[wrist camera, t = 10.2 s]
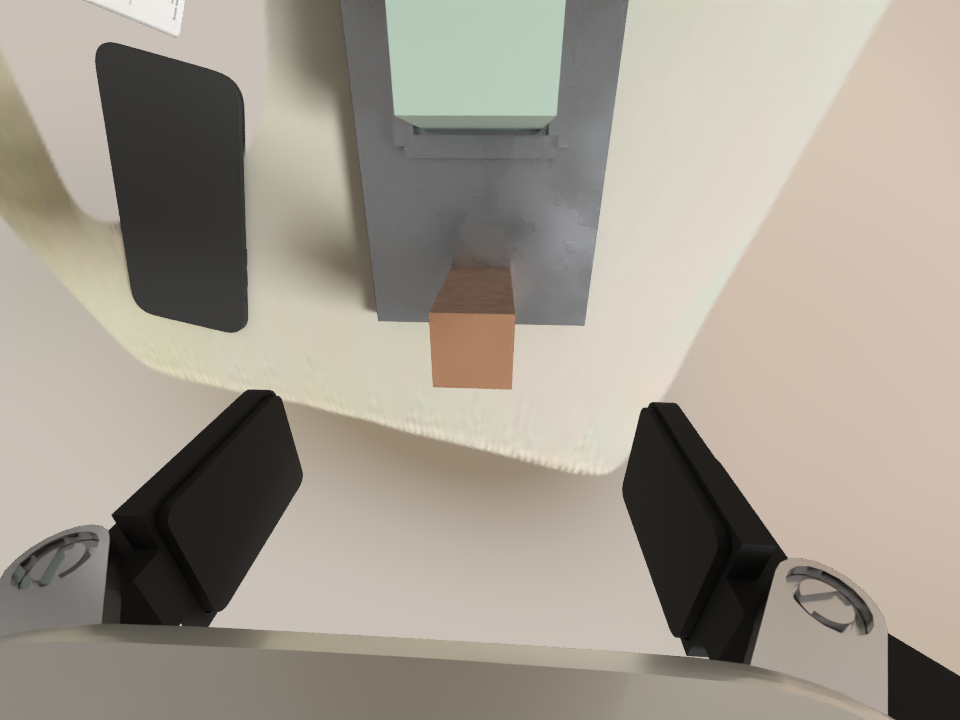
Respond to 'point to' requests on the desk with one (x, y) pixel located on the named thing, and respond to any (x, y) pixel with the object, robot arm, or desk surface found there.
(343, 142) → the desk surface
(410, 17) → the sage block
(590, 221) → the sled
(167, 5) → the ink box
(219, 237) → the phone
